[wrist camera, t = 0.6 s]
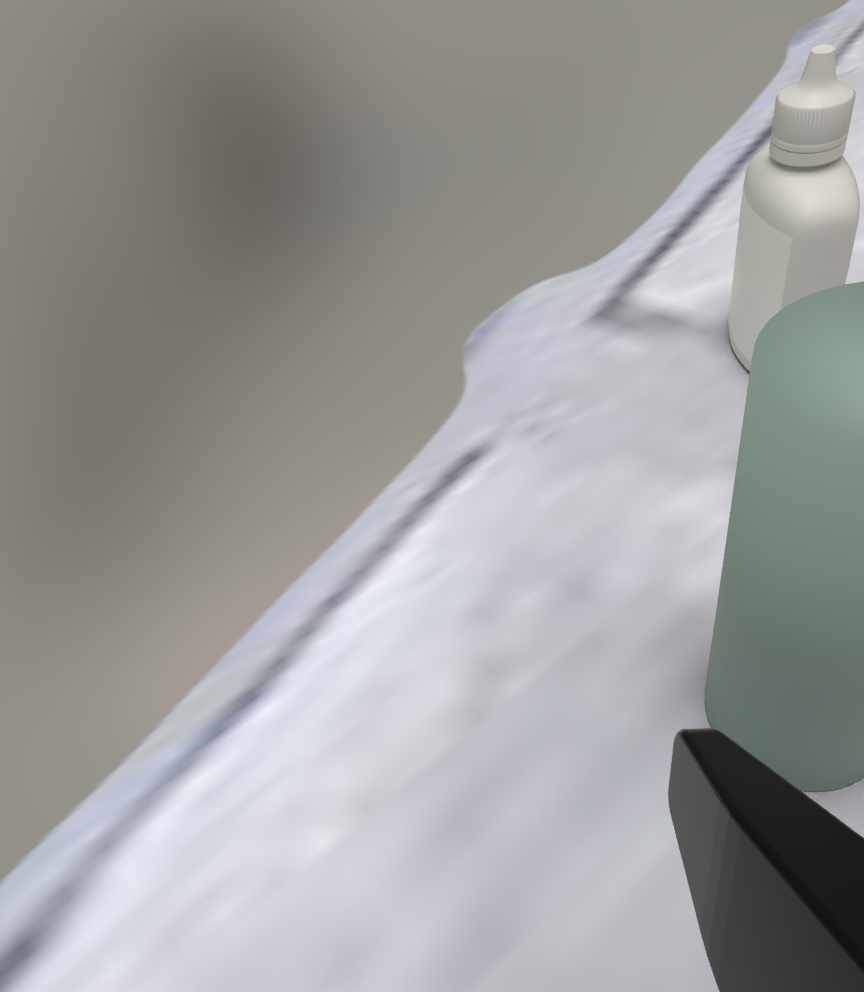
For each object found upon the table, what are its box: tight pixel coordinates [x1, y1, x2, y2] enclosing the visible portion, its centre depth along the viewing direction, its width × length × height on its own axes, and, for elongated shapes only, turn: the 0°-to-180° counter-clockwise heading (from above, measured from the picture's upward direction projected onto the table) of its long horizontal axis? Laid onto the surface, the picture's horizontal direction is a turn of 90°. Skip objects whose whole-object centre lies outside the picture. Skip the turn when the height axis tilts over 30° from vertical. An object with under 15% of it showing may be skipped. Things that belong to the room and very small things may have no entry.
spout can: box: [705, 282, 864, 792], centre depth 18 cm, size 5×5×15 cm
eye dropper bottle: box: [728, 45, 860, 372], centre depth 30 cm, size 4×6×12 cm
